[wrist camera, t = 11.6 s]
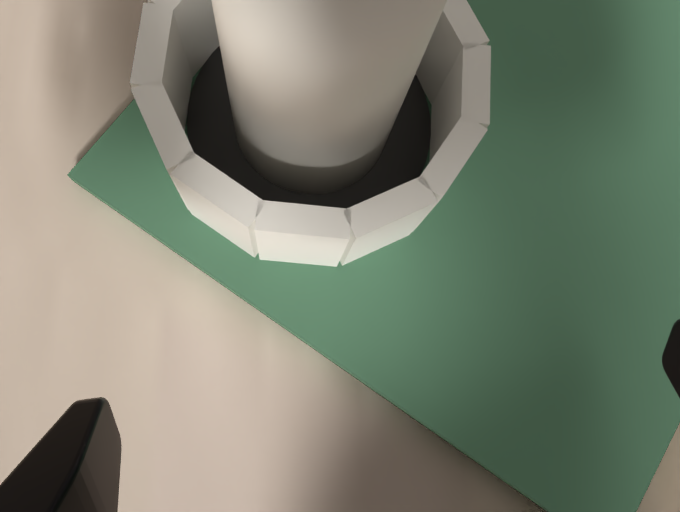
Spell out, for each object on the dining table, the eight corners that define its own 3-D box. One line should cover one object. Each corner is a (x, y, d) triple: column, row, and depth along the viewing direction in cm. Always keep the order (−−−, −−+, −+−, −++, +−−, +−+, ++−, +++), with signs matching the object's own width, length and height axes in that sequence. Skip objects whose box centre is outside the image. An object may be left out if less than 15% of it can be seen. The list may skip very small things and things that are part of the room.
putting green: (838, 75, 22) (959, 8, 18) (603, 550, 18) (697, 599, 14) (407, -201, 23) (433, -323, 19) (74, 181, 18) (16, 125, 14)
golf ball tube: (403, 71, 20) (580, -385, 8) (373, 213, 18) (531, -79, 7) (253, 34, 19) (211, -493, 8) (213, 176, 18) (90, -195, 7)
